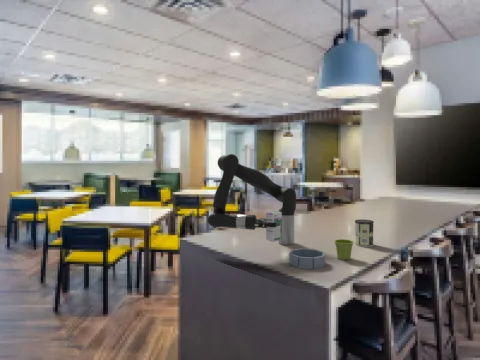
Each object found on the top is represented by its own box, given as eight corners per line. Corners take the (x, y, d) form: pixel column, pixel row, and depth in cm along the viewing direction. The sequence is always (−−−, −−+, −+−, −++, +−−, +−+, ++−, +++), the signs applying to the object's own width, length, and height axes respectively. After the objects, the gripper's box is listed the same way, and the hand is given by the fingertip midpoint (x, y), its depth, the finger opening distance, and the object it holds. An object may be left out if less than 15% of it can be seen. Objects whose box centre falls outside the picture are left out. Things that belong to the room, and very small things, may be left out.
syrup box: (273, 242, 165) (273, 212, 164) (265, 239, 170) (265, 211, 169) (281, 240, 168) (282, 211, 167) (274, 238, 173) (274, 210, 172)
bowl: (292, 257, 170) (292, 247, 170) (325, 259, 166) (325, 249, 166) (287, 267, 155) (287, 256, 154) (324, 270, 150) (324, 259, 150)
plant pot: (331, 259, 167) (331, 242, 166) (337, 254, 175) (337, 238, 174) (350, 262, 162) (350, 244, 161) (355, 257, 169) (356, 240, 169)
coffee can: (367, 242, 202) (367, 219, 201) (376, 246, 191) (377, 222, 191) (351, 243, 200) (351, 219, 199) (360, 247, 190) (360, 222, 189)
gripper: (242, 216, 165) (275, 218, 161) (249, 212, 179) (280, 213, 175) (242, 231, 166) (275, 233, 161) (249, 226, 179) (280, 228, 175)
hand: (277, 223), depth 168 cm, fingers closed on syrup box, 7 cm apart
